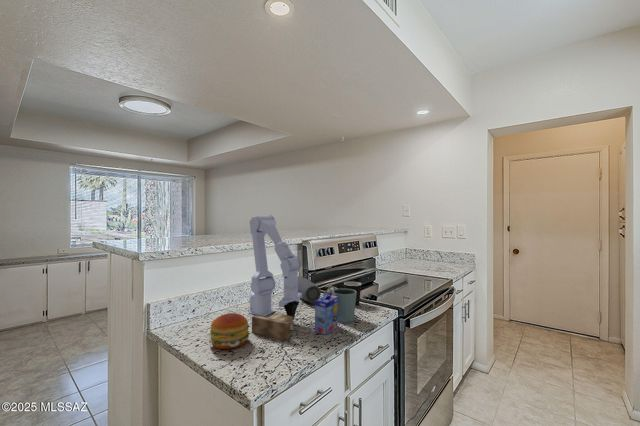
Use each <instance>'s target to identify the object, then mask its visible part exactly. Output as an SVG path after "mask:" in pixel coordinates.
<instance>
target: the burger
mask: <svg viewBox="0 0 640 426" xmlns="http://www.w3.org/2000/svg"><path fill="white" fill-rule="evenodd" d="M249 328H250V325H249V321H248V319H247V318H246V317H245V315H242V314H241V313H236V312H235V313H234V312H233V313H232V312H231V313H225V314H221V315H220V316H218V317H216V318H215V319H213V321H212V322H211V324H210V331H209V332H210V336H209V339H208V343H209V344H211V345H212V347H213V348H216V349H219V350H229V349H230V350H231V349H235V348H239V347H241V346H242V345H244V344H245V343H246V342H247V340H248V339H249V337H250V332H249Z"/></svg>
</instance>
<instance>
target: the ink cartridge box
mask: <svg viewBox="0 0 640 426" xmlns="http://www.w3.org/2000/svg"><path fill="white" fill-rule="evenodd" d="M329 294H330V295H329ZM329 294H328V295H325V296H323V295H322V297H320V298H319V299H317V300H316V301H315V302H314V332H315V333H319V334H322V335H325V336H326V335H328V334H330V333H331V332H332V331H334V330H335V329H336V328H337V327H338V326H339V322H338V297H337V296H333V295H331V294H332V292H331V293H329Z"/></svg>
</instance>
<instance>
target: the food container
mask: <svg viewBox="0 0 640 426" xmlns="http://www.w3.org/2000/svg"><path fill="white" fill-rule="evenodd" d="M335 289H339V288H337V286H333V285H332V286H331V285H328V286H327V289H326V290H325V292H323V295H322V297H323V296H325V295H328V294H329V293H331V292H332V291H333V290H335ZM329 295H330V294H329ZM331 295H333V292H332V294H331Z"/></svg>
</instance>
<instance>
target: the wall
mask: <svg viewBox="0 0 640 426" xmlns="http://www.w3.org/2000/svg"><path fill="white" fill-rule="evenodd" d="M251 333H252V334H257V335H261V336H265V337H268V338H273V339H278V340H282V341H287V342H288V341H289V340H291V330H290V322H287V321H282V320H277V319H272V318H268V317H267V316H261V315H256V314H253V315H252V316H251Z"/></svg>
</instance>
